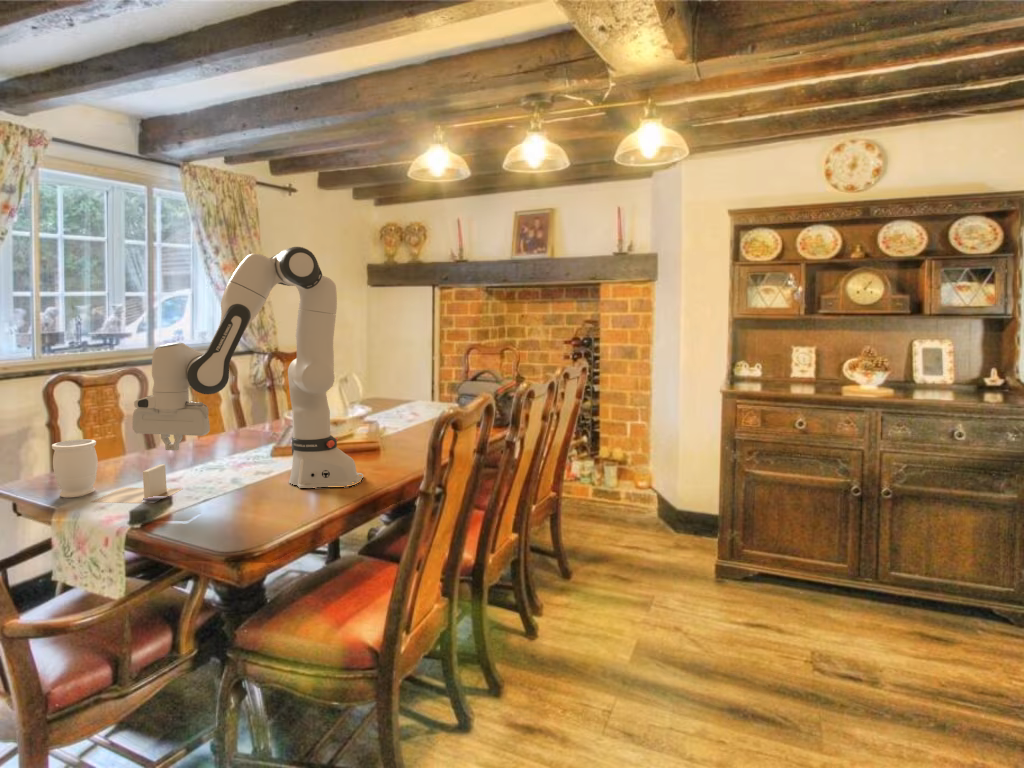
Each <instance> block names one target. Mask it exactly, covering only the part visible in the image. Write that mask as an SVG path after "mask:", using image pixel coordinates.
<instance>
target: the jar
mask: <svg viewBox="0 0 1024 768" xmlns="http://www.w3.org/2000/svg"><path fill="white" fill-rule="evenodd" d="M96 445H97V440H95V439H89V438H88V439H71V440H63V441H59V442H56V443H52V444H51V449H52V450H54V452H53V456H52V468H53V474H54V477H55V481H56V483H57V486H58V487H59V489H60V490H61V491H60V493H59V496H60V497H62V498H71V499H72V498H80V497H83V496H85V495H88V494H91V493H93V492H95V491H96V488H95V487H94V485H95V483H96V480H97V471H98V463H99V462H98V455H97V451H96V448H95V446H96Z"/></svg>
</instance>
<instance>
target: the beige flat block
mask: <svg viewBox="0 0 1024 768" xmlns="http://www.w3.org/2000/svg"><path fill="white" fill-rule="evenodd" d="M166 471H167V470H166V464H163V463H162V464H161V463H160V464H157V465H154V466H153V467H150V468H148V469H146V470H143V471H142V483H143V484H142V485H143V488H144V498H148V497H153V496H159V495H161V494H163V493H165V492H167V473H166Z"/></svg>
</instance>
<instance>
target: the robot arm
mask: <svg viewBox="0 0 1024 768" xmlns="http://www.w3.org/2000/svg"><path fill="white" fill-rule="evenodd" d="M276 285H282V286H289V287H290V286H291V287H293V286H294V287H296V289H297V291H298V293H299V303H298V311H297V313H298V314H297V319H296V320H297V321H296V327H295V328H296V329H295V339H296V342H295V343H296V344H295V345H296V358H295V359H293V360H292V361H291V362H290V363H289V365H288V367H287V379H288V388H289V390H288V391H289V398H290V404H291V411H292V415H291V416H292V437H291V454H292V465H291V471H290V477H289V480H288V483H289V484H290V483H291V484H290V485H292V484H293V485H292V486H294V485H297V486H298V487H299V488H298V487H297V486H296V487H297V488H298V489H300V488H313V487H328V486H347V485H352V484H355V483H357V482H359V481H360V480H361V479H362V478H363V477H364V474H363V473H362V472H357V467H356V462H355V460H354V459H353V458H352V457H351V456H350V455H349V454H347V453H345V452H344V451H342V450H341V449H339V448H338V447H337V446H338V443H337V442H338V439H339V438H338V437H334V436H333V435H331V411H330V407H329V403H328V397H327V392H328V391H329V390H330V389H331V388H332V386H333V385H334V382H335V371H334V369H335V367H334V366H335V362H334V361H335V355H334V353H335V352H334V351H335V350H334V336H335V325H336V318H337V309H338V308H337V307H338V306H337V305H338V300H337V299H338V298H337V297H338V294H337V292H338V291H337V286H336V283H335V282H334V281H333V280H332V279H331V278H330V277H327V276H324V275H323V273H322V270H321V268H320V265H319V263H318V260H317V258H316V256H315V254H314V253H313V252H312V251H310V250H309V249H307V248H305V247H303V246H302V247H301V246H293V247H287V248H285V249H283V250H281V251H280V252H278V253H276V254H275V255H272V257H267V256H265V255H263V254H260V253H251V254H248V255H246V256H245V258H243V260H242V261H241V262H240V263H239V265H238V266H237V268H236V269H235V270H234V272H233V273H232V275H231V277H230V279H229V281H228V282H227V284H226V286H225V289H224V292H223V294H222V298H221V301H220V310H221V312H220V313H221V314H220V315H221V317H220V320H219V325H218V328H217V330H216V331H215V333H214V335H213V337H212V340H211V342H210V343H209V345H208V348H207V350H206V351H205V352H201V351H199V350H196V349H194V348H191V347H190V346H188V345H186V344H185V343H183V342H171V343H170V342H169V343H164V344H160V345H158V346H156V347H155V349H154V350H153V353H152V358H151V376H152V380H153V386H152V395H148V396H146V397H142V398H140V399H135V400H134V402H133V403H134V404H133V405H134V408H135V409H134V411H133V413H132V431H134V433H135V434H142V435H143V434H144V435H160V439H161V440H162V442H163V443H164V446H165V451H174V452H175V451H177V452H178V451H179V450H180V443H181V441H182V440H183V438H184V436H192V437H193V436H195V437H196V436H197V437H198V436H199V437H201V436H202V437H203V436H206V435H207V434H209V432H210V431H211V424H210V418H209V407H208V406H207V404H206V403H205V404H204V402H201V401H198V402H195V401H190V399H189V398H190V397H189V396H190V393H189V392H190V390H189V388H190V387H191V388H192V390H194V391H195V392H197V393H199V394H201V395H214V394H217V393H219V392H220V391H222V390H223V389H224V388H225V387H226V386H227V384H228V382H229V379H230V378H229V377H230V364H231V363H230V362H231V360H232V357H233V355H234V353H235V351H236V349H237V347H238V345H239V343H240V341H241V339H242V337H243V334H244V333H245V331H246V330H247V328H248V327H249V325H250V324H251V323H253V321H254V319H256V316H257V315H258V314H259V313H260V311H262V308H263V306H264V305H265V303H266V301H267V299H268V298H269V296H270V293H271V291H272V290H273V288H274V287H276ZM171 435H172V436H173V439H175V440H174V441H173V442H171V440H170V437H171ZM359 475H362V476H359ZM352 482H354V483H352Z"/></svg>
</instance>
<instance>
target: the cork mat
mask: <svg viewBox="0 0 1024 768" xmlns="http://www.w3.org/2000/svg"><path fill="white" fill-rule="evenodd" d="M181 490H183V488H169V487H168V488H167V492H165V493H163V494H161V495H159V496H169V497H171V496H172V495H175V494H176V493H178V492H180V491H181ZM143 498H144V487H121V488H119V489H116V490H114V491H112V492H110V493H107V494H105V495H102V496H101V497H98V498H96V499H93V500H92V501H90V503H105V504H106V503H111V504H114V503H117V504H142V503H141V502H142V500H143Z"/></svg>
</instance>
